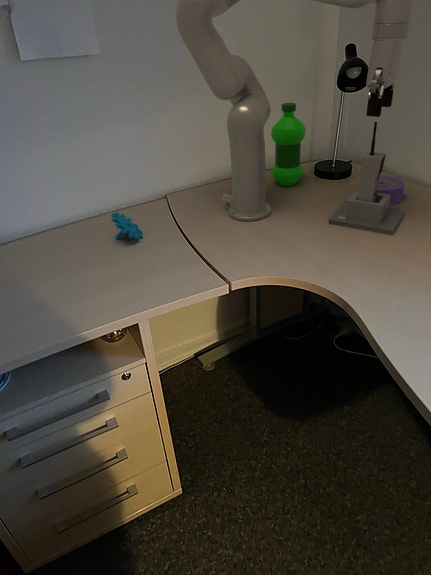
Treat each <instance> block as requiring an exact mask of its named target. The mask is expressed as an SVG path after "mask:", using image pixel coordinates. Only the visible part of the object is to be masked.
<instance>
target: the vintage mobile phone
mask: <svg viewBox="0 0 431 575" xmlns="http://www.w3.org/2000/svg"><path fill="white" fill-rule="evenodd" d="M377 126H378V121H374V126H373V133H372V140H371V146H370V151H367V152H366V153H365V154H363V156H362V157H361V164H360V171H359V172H360V174H359V181H358V182H359V183H358V189H357V190H358V199H357V200H361V201H368V202H374V203H376V196H377V189H378V181H379V175H381V174H382V172H383V169H384V168H383V167H384V165H385V161H386V160H385V159H386V156H387V153H379V152H375V147H376V133H377V128H378V127H377Z"/></svg>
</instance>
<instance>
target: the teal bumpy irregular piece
mask: <svg viewBox="0 0 431 575" xmlns="http://www.w3.org/2000/svg"><path fill="white" fill-rule="evenodd" d="M110 217H111V222H113V223H114V227H116V228H117V229H120V230H119V232H118V233H117V235H116V236H115V237H114V239H116V241H117V240H118V241H119V240H120V238H121V237H122V236H123V235H126V234H127V233H128V238H130V239H133V238H134V239H135V240H137V241H139V240H140V239H142V238H143V236H144V235H143V234H142V232H143V230H141V229H139V225H138V223H137V224H136V223H134V222H133V219H132V217H131V216H130V215H128V216H126V215H125V214H124V213H120V212H117V211H116V212H113V213H112V214H111V215H110ZM126 217H127V218H126Z"/></svg>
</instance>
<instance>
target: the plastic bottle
mask: <svg viewBox="0 0 431 575" xmlns="http://www.w3.org/2000/svg"><path fill="white" fill-rule="evenodd" d="M296 110H297V103H296V102H284V103H282V104H281V112H282V114H283V115H282V116H281V118H279V120H277V121H276V123H274V125H273V126H272V129H271V131H270V132H271V139H272V140H273V141H274V143H275V146H274V147H275V149H274V150H275V152H274V153H275V158H274V159H275V160H274V161H275V162H274V163H275V164H274V166H273V169H272V170H271V171H272V172H271V173H272V174H271V175H272V177H273V179H274V180H275V182H277V183H278V184H279V185H280V186H283V187H291V185H292V186H294V185H295V184H297V183H298V182H299V181H300V179H301V177H302V175H303V173H304V170H303V166H302V164H301V148H302V146H301V144H302V141H303V140H304V139H305V136H306V126H305V124H304V123H303V122H302V121H301V120H300V119H299V118H297V117H296V116H295V112H296Z"/></svg>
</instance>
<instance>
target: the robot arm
mask: <svg viewBox="0 0 431 575" xmlns="http://www.w3.org/2000/svg"><path fill="white" fill-rule="evenodd" d="M311 1H312V2H315V3H316V2H317V3H322V4H327V5H333V6H338V7H343V8H348V9H361V8H364V7H366V6H367V5H369V4H375V7H374V16H373V23H372V24H373V26H372V31H371V32H372V33H371V40H372V41H373V42H372V43H373V44H372V48H371V53H370V58H369V63H368V69H367V70H368V71H367V77H366V83H365V87H366V88H369V93H368V98H367V105H366V106H367V107H366V116H367V117H375V118H376V117H377V118H379V117H381V115H382V107H383V108H391V107H392V104H393V97H394V90H395V89H394V88H395V82H396V81H397V78H398V73H399V67H400V61H401V60H400V59H401V52H402V45H403V44H402V43H403V40H406V39H408V34H409V26H410V20H411V15H412V14H411V13H412V7H413V1H414V0H311ZM238 2H240V0H177V5H176V12H175V18H176V26H177V30H178V32H179V35H180V37H181V39H182V42H183V43H184V45H185V47H186V48H187V50H188V52H189V53H190V55H191V57H192V58H193V61H194V63H195V64H196V67H197V68H198V70H199V72H200V73H201V75H202V77H203V79H204V80H205V82H206V83H207V85H208V87H209V89H210V91H211V92H212V93H213V95H214V97H216V98H217V99H219V100H222V101H229V102H231V105H232V107H231V108H230V110H229V112H228V115H227V119H226V127H227V128H226V129H227V135H228V142H229V150H230V166H231V170H230V171H231V188H232V191H231V192H232V194H230V193H226V192H225V193H223V195H222V199H221V200H222V203H224V204H228V205H229V206H228V208H227V212H228V215H229V217H231V218H232V219H235V220H239V221H246V222H247V221H248V222H249V221H258V220H261V219H264V218H267V217H268V216H269V215H270V214H271V212H272V206H271V205H270V204H269V203H268V202H266V200H267V199H266V196H267V195H266V193H267V192H266V145H265V144H266V143H265V142H266V141H265V125H266V123H267V122H268V120H269V118H270V115H271V104H270V101H269V99H268V96H267V95H266V93H265V91H264V89H263V87H262V85H261V83H260V81H259V80H258V78H257V76H256V74H255V72H254V70H253V69H252V66H251V65H250V64H249V63H248V61H247V60H246V59H245V58H243V57H242V56H240V55H238V54H231V52H230V51H229V49H228V47H227V45H226V43H225V41H224V39H223V38H222V36H221V34H220V33H219V31H217V29H216V28H215V26H214V23H213V18H216V17H219V16H221V15H223V14H224V13H226V12H227V11H228V10H230V8H233V6H234V5H235V4H237V3H238Z"/></svg>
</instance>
